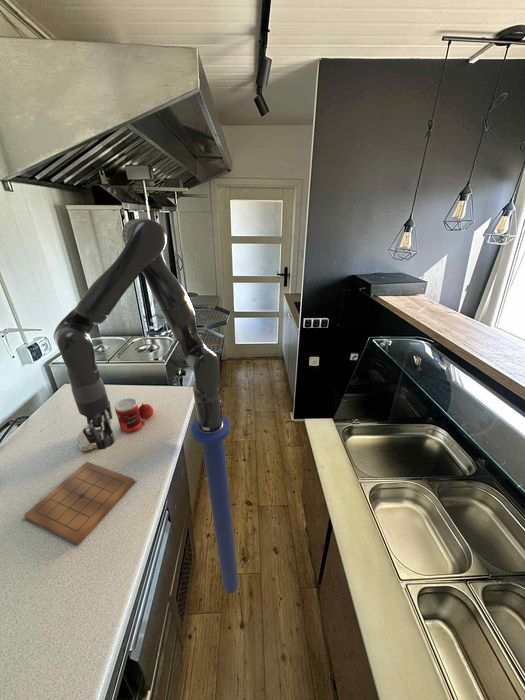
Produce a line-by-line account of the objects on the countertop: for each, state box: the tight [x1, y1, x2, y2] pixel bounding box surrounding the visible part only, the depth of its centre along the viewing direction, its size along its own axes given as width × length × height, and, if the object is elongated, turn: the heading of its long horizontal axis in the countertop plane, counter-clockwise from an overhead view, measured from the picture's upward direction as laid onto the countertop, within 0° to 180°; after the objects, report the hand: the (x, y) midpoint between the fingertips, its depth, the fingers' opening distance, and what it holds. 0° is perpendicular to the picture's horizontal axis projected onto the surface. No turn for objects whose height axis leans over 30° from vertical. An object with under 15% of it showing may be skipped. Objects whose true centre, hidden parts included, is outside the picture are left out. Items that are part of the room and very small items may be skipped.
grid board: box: [23, 461, 135, 546], centre depth 84 cm, size 20×20×2 cm
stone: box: [76, 424, 100, 452], centre depth 104 cm, size 8×12×10 cm
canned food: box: [114, 397, 143, 434], centre depth 110 cm, size 8×8×11 cm
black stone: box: [98, 429, 116, 449], centre depth 85 cm, size 5×5×3 cm
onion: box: [138, 402, 154, 420], centre depth 115 cm, size 6×6×8 cm
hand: (105, 441), depth 85 cm, fingers closed on black stone, 5 cm apart
